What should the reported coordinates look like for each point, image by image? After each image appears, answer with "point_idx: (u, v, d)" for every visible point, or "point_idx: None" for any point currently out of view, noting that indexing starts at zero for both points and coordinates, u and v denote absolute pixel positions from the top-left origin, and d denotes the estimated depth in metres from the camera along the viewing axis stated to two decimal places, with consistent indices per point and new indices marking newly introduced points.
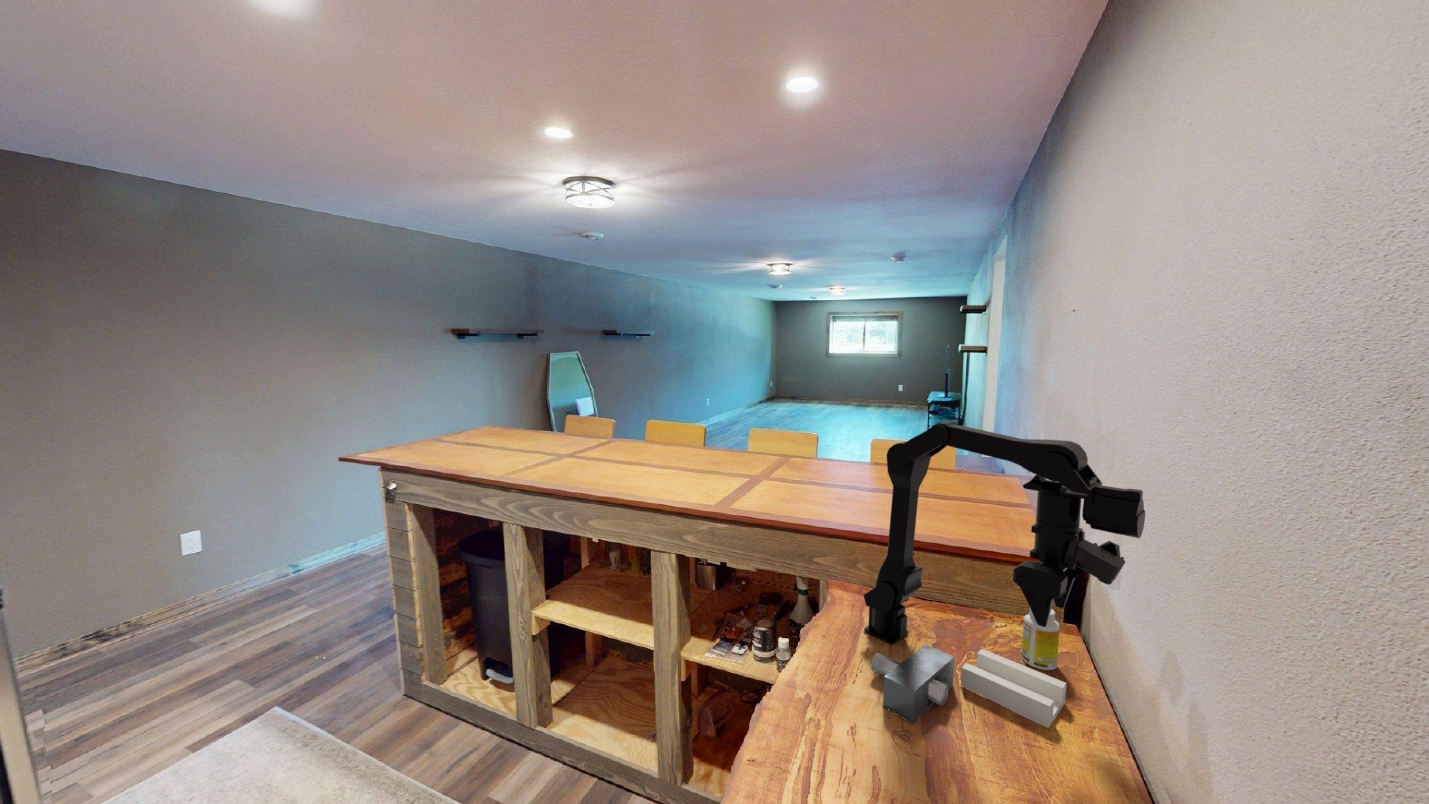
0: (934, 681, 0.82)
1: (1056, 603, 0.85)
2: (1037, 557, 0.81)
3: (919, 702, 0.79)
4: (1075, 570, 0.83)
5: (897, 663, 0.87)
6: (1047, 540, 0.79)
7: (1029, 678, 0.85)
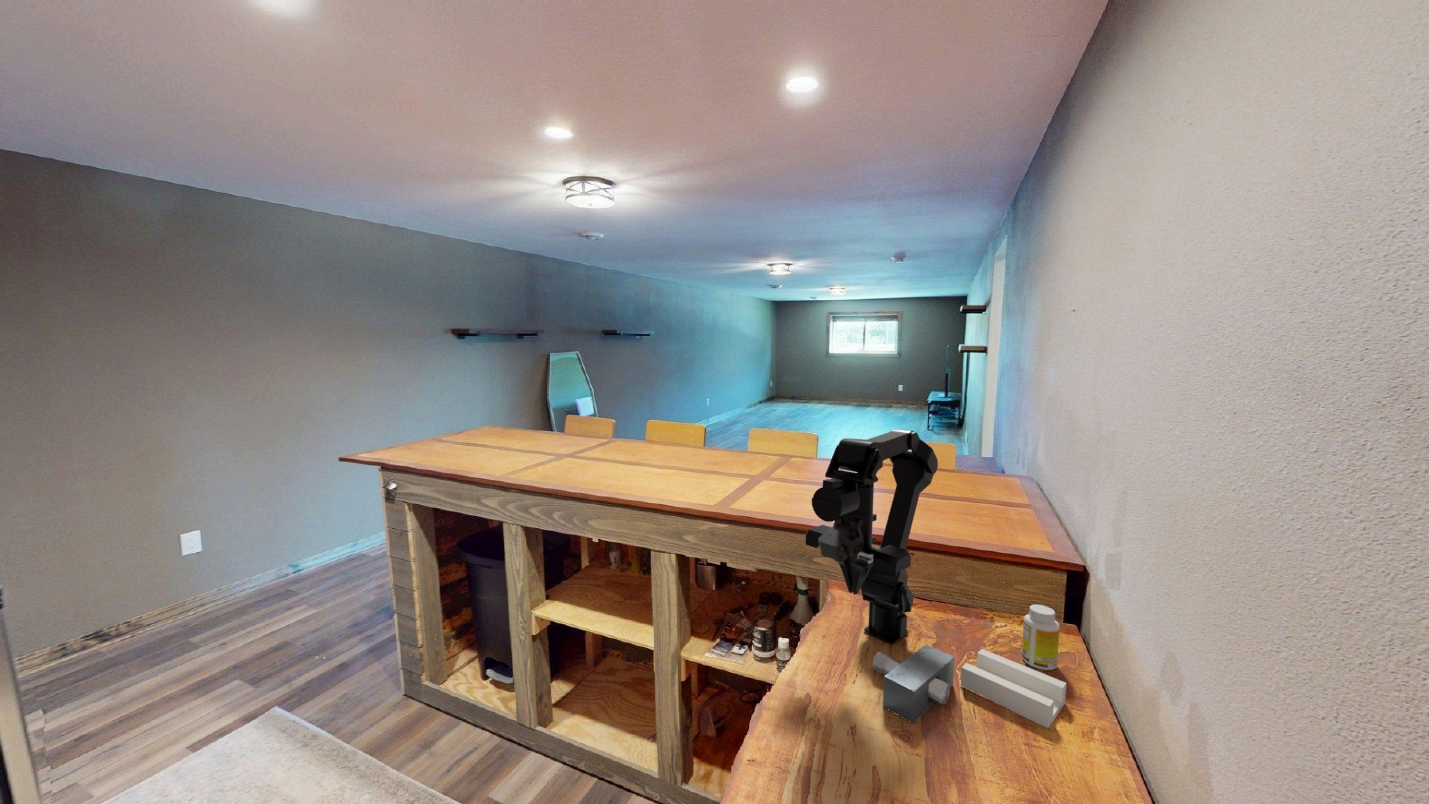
0: (937, 679, 0.83)
1: None
2: None
3: (919, 702, 0.79)
4: None
5: (900, 661, 0.88)
6: None
7: (1029, 678, 0.85)
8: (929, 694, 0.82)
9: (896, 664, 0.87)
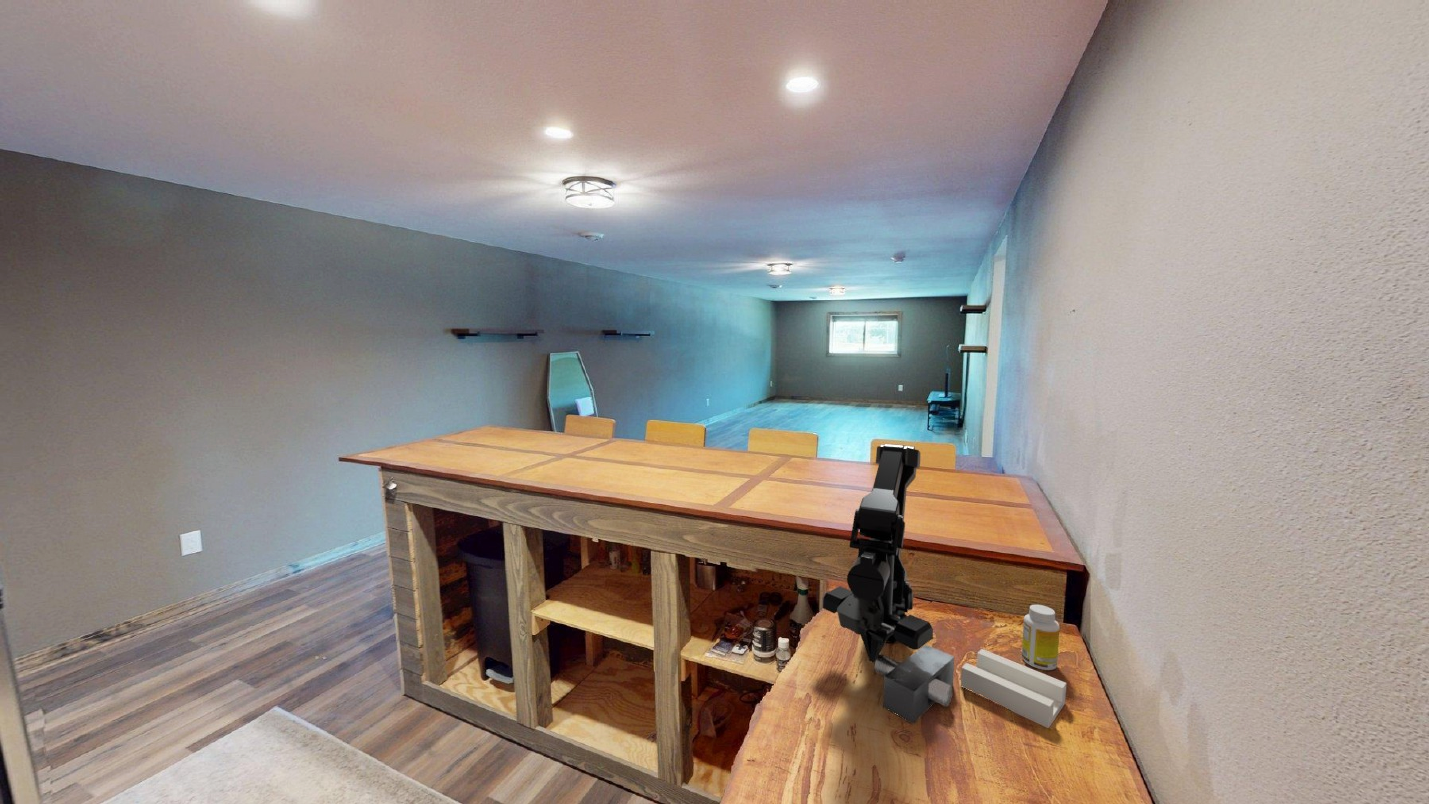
0: (939, 681, 0.82)
1: None
2: None
3: (919, 702, 0.79)
4: (872, 629, 0.89)
5: None
6: None
7: (1029, 678, 0.85)
8: (932, 698, 0.82)
9: None
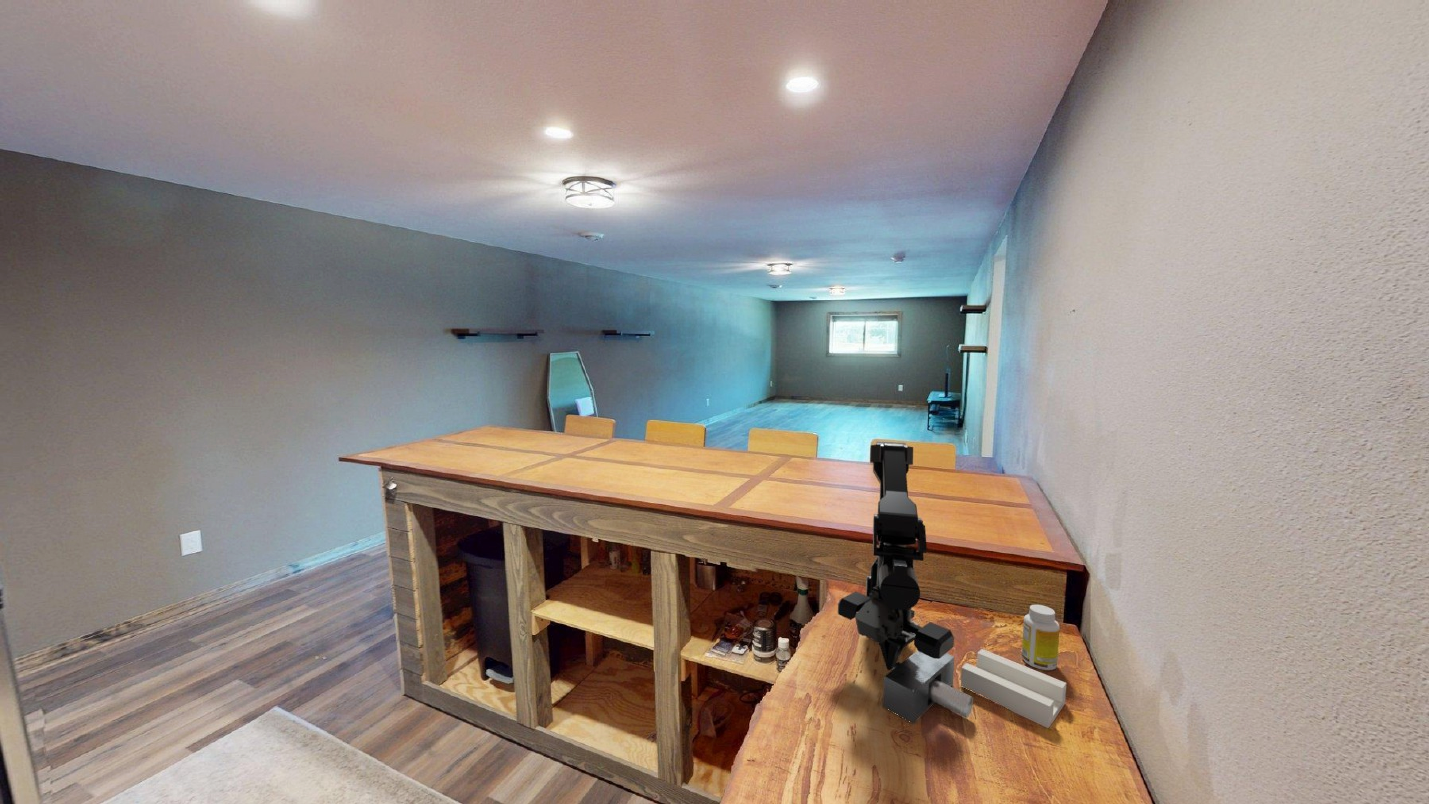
0: (959, 691, 0.80)
1: None
2: None
3: (919, 702, 0.79)
4: None
5: None
6: None
7: (1029, 678, 0.85)
8: (952, 709, 0.79)
9: None
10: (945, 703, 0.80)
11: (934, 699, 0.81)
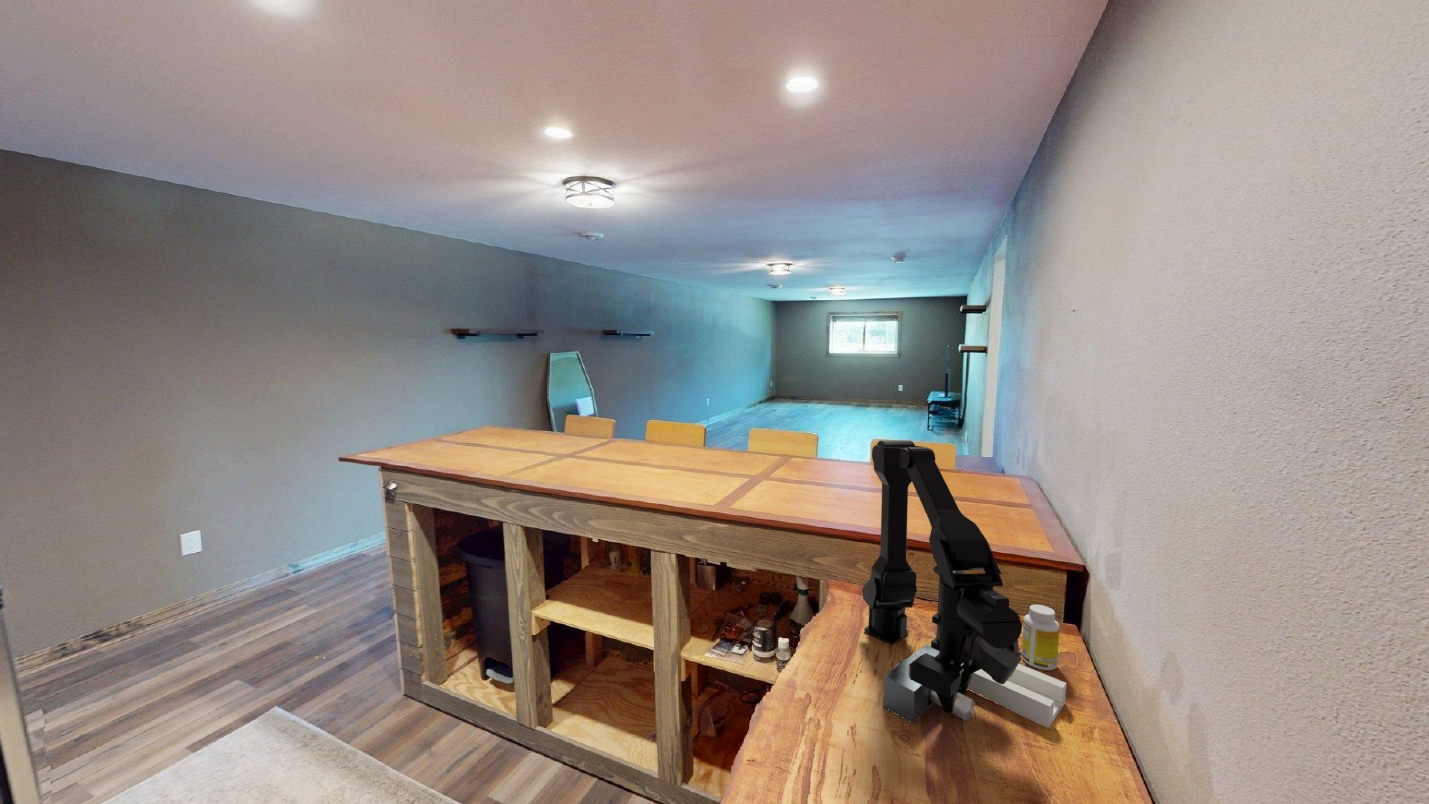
0: (960, 695, 0.79)
1: None
2: (937, 648, 0.79)
3: (919, 702, 0.79)
4: (972, 665, 0.80)
5: None
6: (946, 632, 0.78)
7: (1029, 678, 0.85)
8: (953, 712, 0.79)
9: None
10: None
11: (935, 701, 0.81)
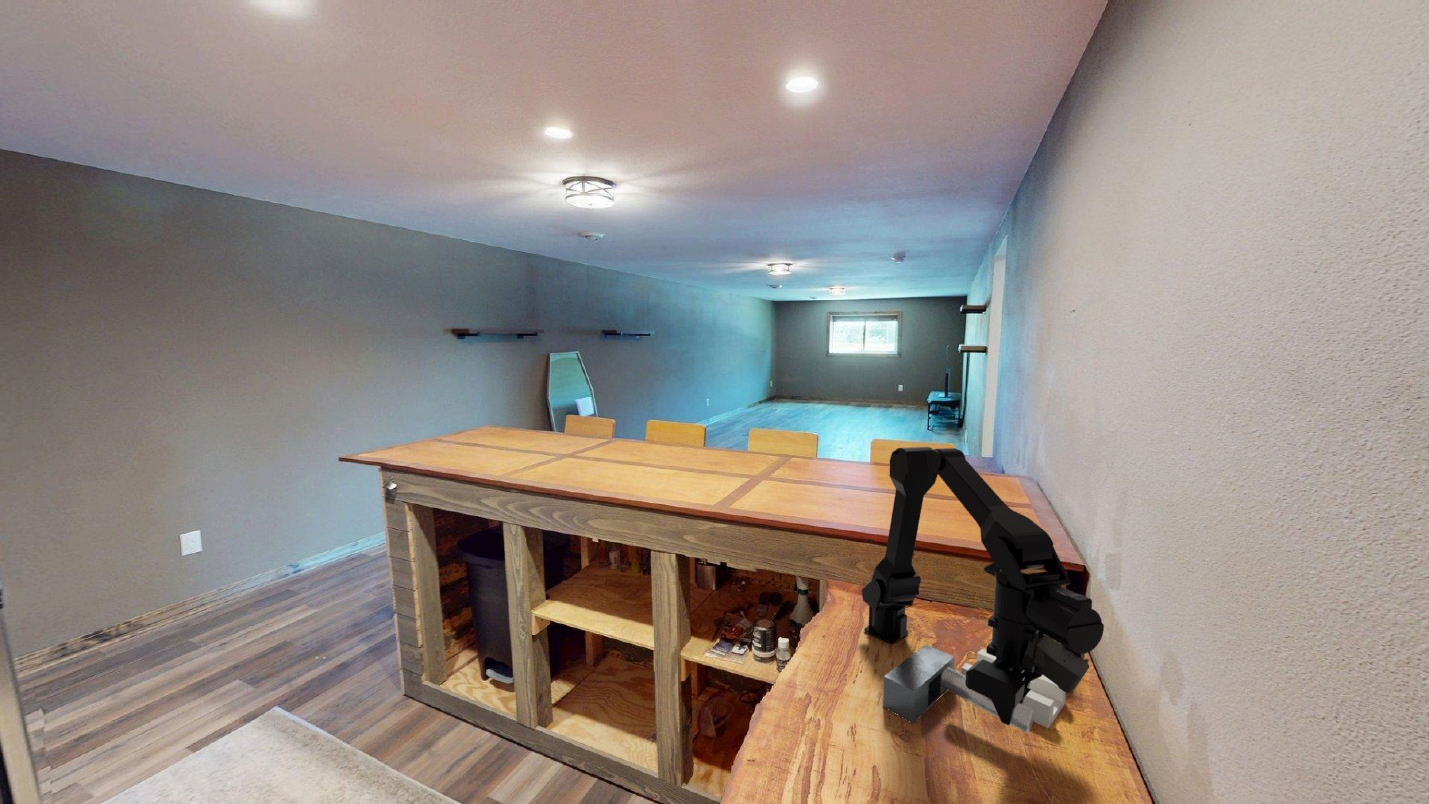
0: (1019, 705, 0.73)
1: None
2: (994, 654, 0.73)
3: (919, 702, 0.79)
4: (1031, 672, 0.74)
5: None
6: (1005, 637, 0.71)
7: None
8: (1011, 723, 0.73)
9: None
10: None
11: (990, 711, 0.75)
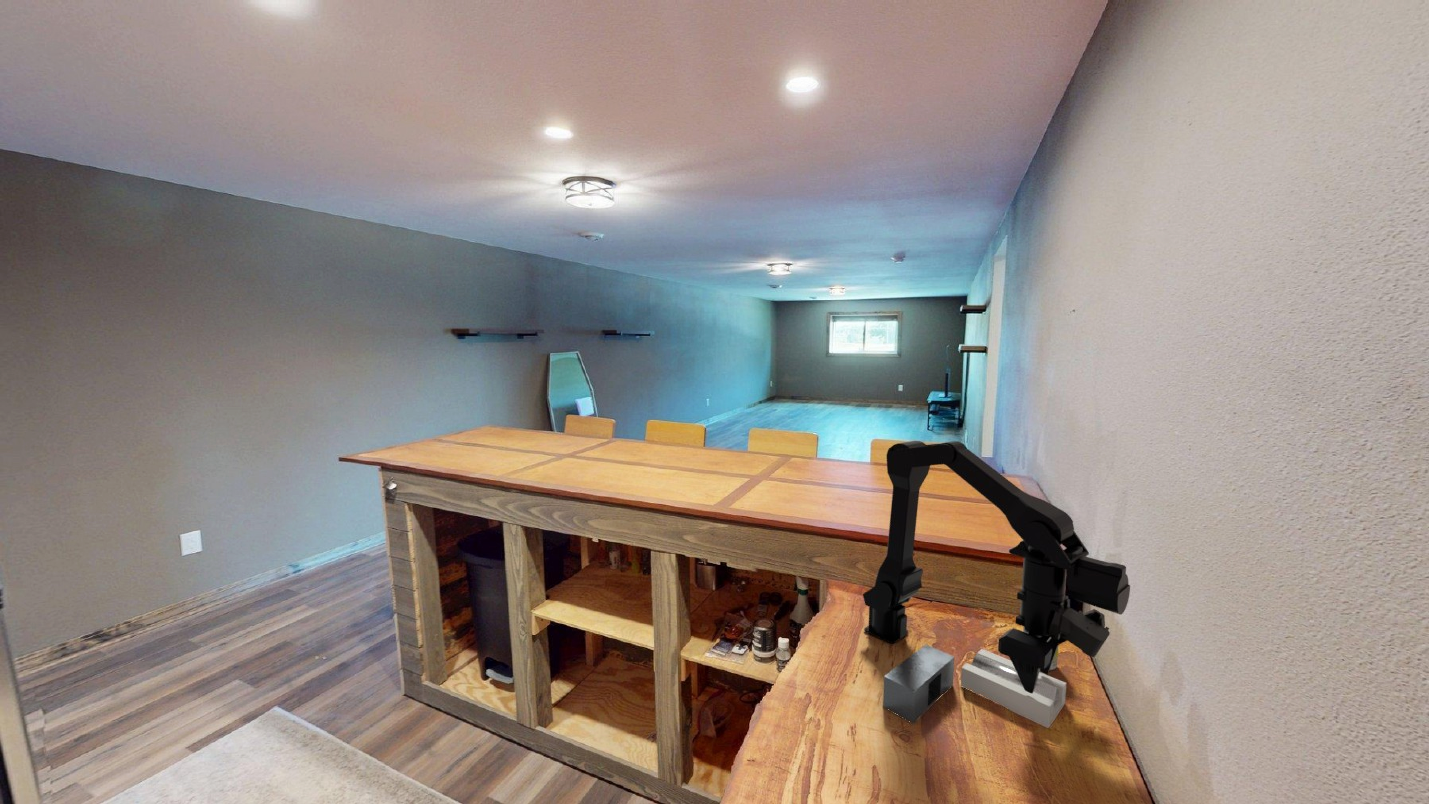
0: (1044, 683, 0.81)
1: (1040, 668, 0.85)
2: (1023, 624, 0.81)
3: (919, 702, 0.79)
4: (1059, 637, 0.83)
5: (1000, 665, 0.86)
6: (1033, 608, 0.79)
7: None
8: None
9: (997, 670, 0.86)
10: None
11: None
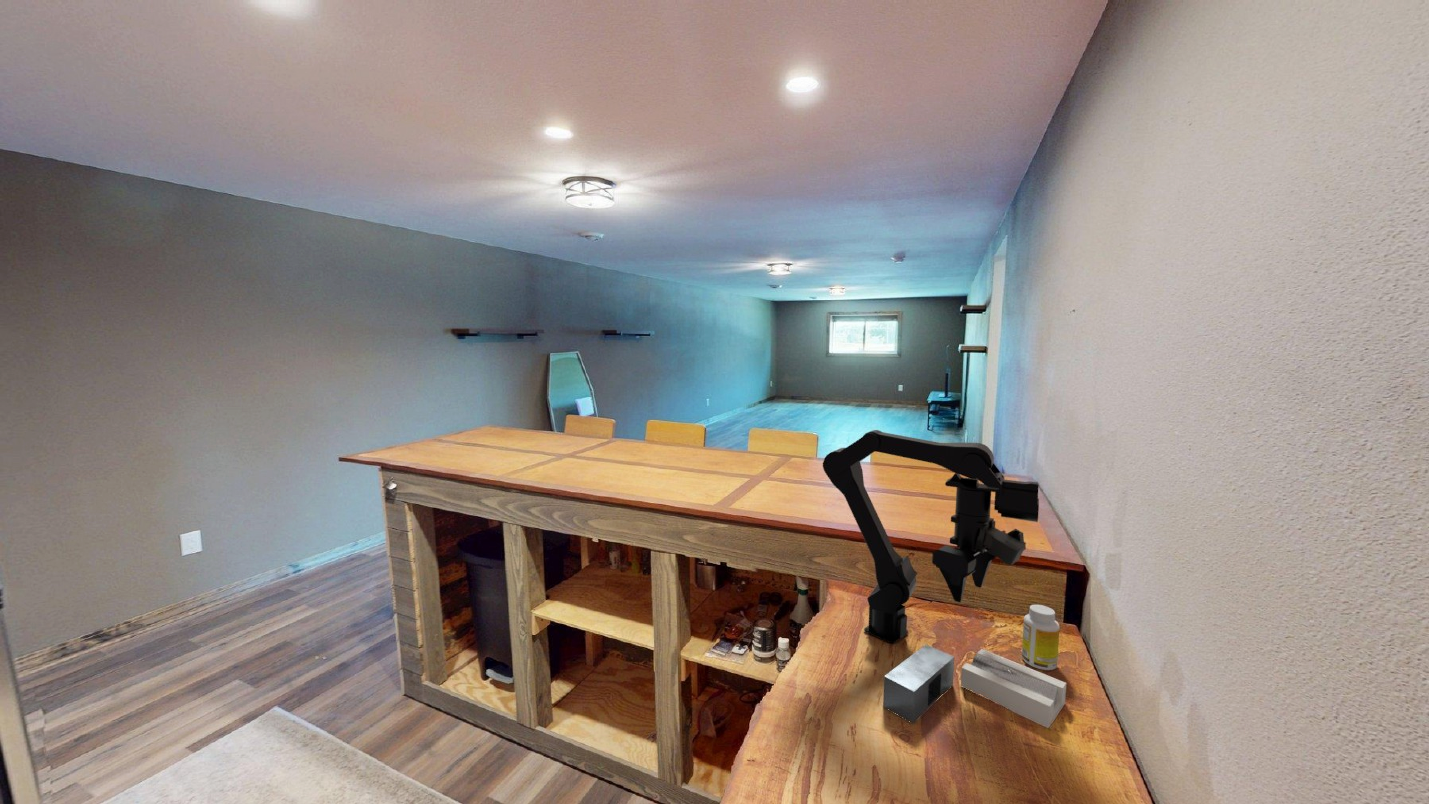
0: (1044, 683, 0.81)
1: (975, 583, 0.99)
2: (955, 543, 0.94)
3: (919, 702, 0.79)
4: (990, 554, 0.97)
5: (1000, 665, 0.86)
6: (963, 528, 0.93)
7: None
8: None
9: (997, 670, 0.86)
10: None
11: None
